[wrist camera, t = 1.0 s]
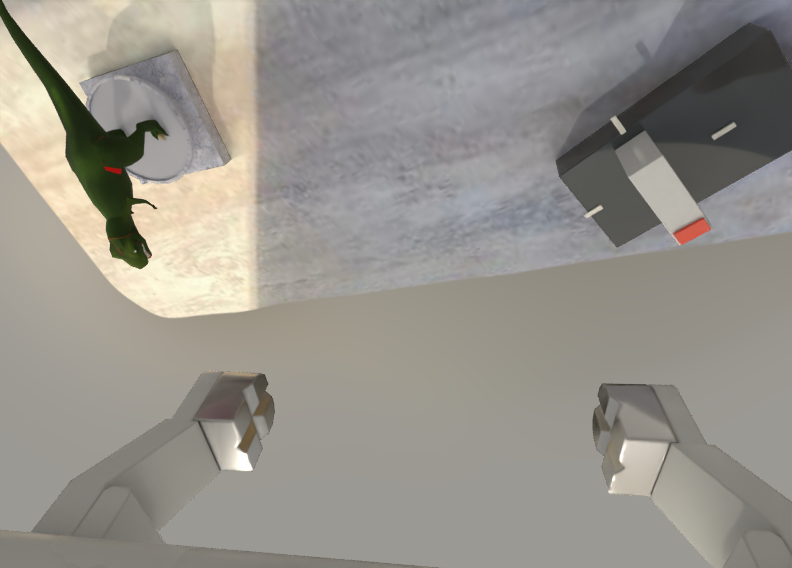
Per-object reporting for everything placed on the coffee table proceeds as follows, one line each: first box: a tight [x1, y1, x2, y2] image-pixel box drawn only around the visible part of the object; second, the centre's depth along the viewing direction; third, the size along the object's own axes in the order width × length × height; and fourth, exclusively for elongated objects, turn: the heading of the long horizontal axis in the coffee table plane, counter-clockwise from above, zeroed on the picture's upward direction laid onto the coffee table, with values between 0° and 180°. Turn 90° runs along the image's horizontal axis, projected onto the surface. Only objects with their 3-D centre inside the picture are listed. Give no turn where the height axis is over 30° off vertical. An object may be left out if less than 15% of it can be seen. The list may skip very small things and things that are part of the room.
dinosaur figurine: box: [0, 0, 231, 269], centre depth 35 cm, size 9×20×12 cm, turn 16°
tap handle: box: [615, 131, 713, 246], centre depth 31 cm, size 6×2×5 cm, turn 45°
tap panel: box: [556, 23, 792, 247], centre depth 33 cm, size 14×11×3 cm
